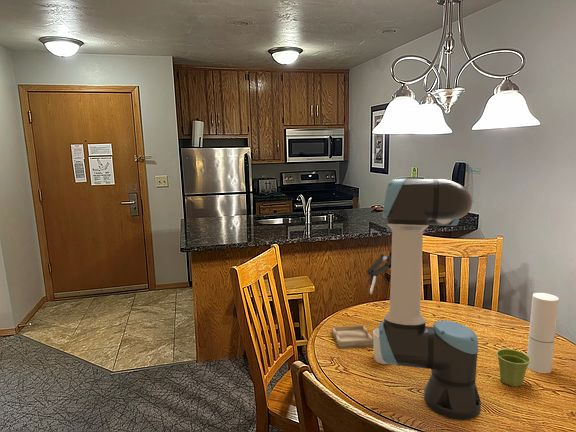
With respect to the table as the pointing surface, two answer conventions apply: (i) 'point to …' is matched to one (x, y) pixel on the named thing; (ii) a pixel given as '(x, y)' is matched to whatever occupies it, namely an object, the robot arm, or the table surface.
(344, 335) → the birch tray
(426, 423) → the table surface
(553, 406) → the table surface
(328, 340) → the table surface
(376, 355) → the white cup
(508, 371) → the plant pot
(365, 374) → the table surface
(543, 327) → the cylindrical container
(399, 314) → the robot arm
